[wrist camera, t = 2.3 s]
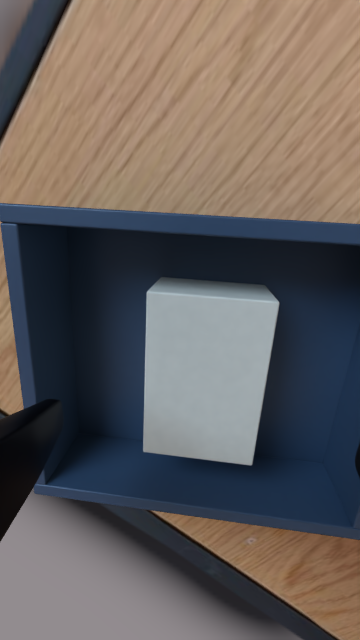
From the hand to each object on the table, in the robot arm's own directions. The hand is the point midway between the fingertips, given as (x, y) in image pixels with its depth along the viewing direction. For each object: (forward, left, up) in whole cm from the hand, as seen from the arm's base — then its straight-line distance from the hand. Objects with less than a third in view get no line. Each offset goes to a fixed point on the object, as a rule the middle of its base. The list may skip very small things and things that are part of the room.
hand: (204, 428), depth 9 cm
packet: (0, 0, -6) cm, 6 cm away
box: (0, 0, -6) cm, 6 cm away
